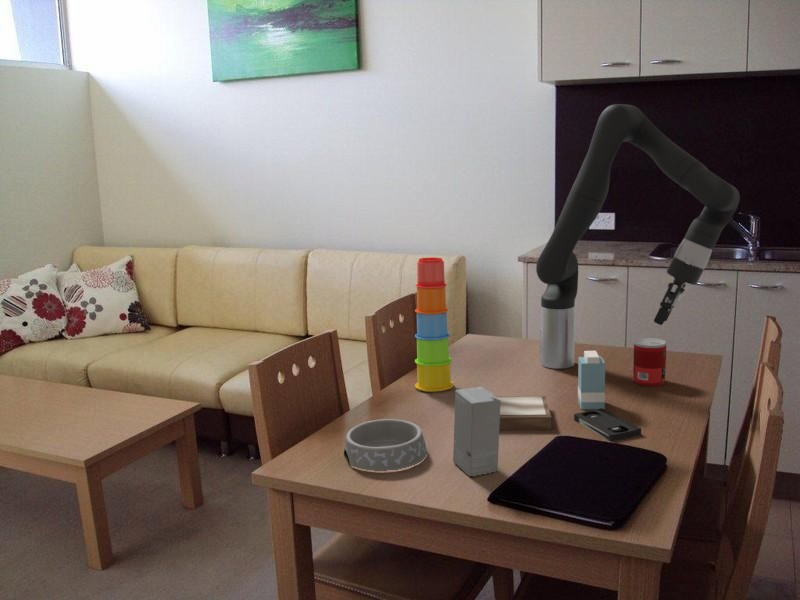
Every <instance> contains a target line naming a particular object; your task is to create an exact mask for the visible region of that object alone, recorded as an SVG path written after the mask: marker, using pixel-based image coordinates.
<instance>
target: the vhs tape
mask: <svg viewBox="0 0 800 600" xmlns="http://www.w3.org/2000/svg"><path fill="white" fill-rule="evenodd" d="M573 421H575V422H576V423H578V424H580V425H581V426H583V427H585V428H586V429H588V430H590V431H592V432H594V433H595V434H597V435H598V436H601V437H602V438H603V439H606V440H607V441H609V442H615V441H621V440H625V439H629V438H634V437H638V436H641V435H642V428H641V427H639V426H637V425H635V424H633V423H631V422H629V421H627V420H625V419H624V418H621V417H620V416H618V415H616V414H614V413H612V412H610V411H608V410H607V409H602V408H601V409H591V410H588V411H582V412H577V413H574V414H573ZM622 427H623V428H622Z"/></svg>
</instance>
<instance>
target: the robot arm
mask: <svg viewBox="0 0 800 600" xmlns="http://www.w3.org/2000/svg"><path fill="white" fill-rule="evenodd" d="M625 142H627V143H629V144H631V145H634V146H635V147H636V148H639V149H640V150H642V151H643V152H644V153H645V154H647V155H648V156H649V157H650V158H651V159H652V160H653V161H654V163H655V164H656V165H657V166H658V168H659V169H660V170H661V171H662V172H663V174H665V175H666V176H667V177H668V178H669V179H671V180H672V181H673V182H674V183H676V184H678V185H679V186H680V187H681V188H683V189H684V190H686V191H688V192H689V193H690V194H691V195H692V197H693V196H694V197H695V199H697V200H698V201H699V202H700V203H701V204H702V205H704V207H703V209H702V210H701V212H700V214H699V215H698V216H697V217H696V218H694V219H693V220H692V222H691V224H690V225H689V227H688V229H687V231H686V233H685V236H684V237H683V239H682V241H681V242H680V243H679V245H678V247H677V249H676V251H675V254H674V256H673V257H672V260H671V262H670V263H669V266H668V267H667V269H666V274H667V275H669V276H670V277H673V279H674V280H673V281H672V282H669V283H668V284H667V285H666V288H665V292H664V294H663V295H662V298H661V299H662V301H661V302H660V303H659V309H658V311H657V313H656V315H655V316H654V318H653V322H654V323H655V324H657V325H659V326H662V325H664V322H667V321H668V318H669V316H670V314H671V313H672V311H673V309H674V308H675V307H676V305H677V304H678V303H679V302H680V300H681V298H682V297H683V295H684V294H685V292H686V289H685V288H686V284H688V285H692V286H696V285H697V284H698V282H699V280H700V279H701V276H702V274H703V272H704V271H705V268H706V266H707V264H708V262H709V260H710V258H711V255H712V252H713V249H714V248H715V246H716V244H717V242H718V240H719V238H720V236H721V233H722V231H723V230H724V228H726V226H727V225H728V223H729V221H730V220H731V218H733V215H735V212H736V210H737V209H738V207H739V205H740V204H739V203H740V200H741V197H740V192H739V190H738V188H736V187H735V186H734V185H732V184H730V183H729V182H727V181H726V180H724V179H722V177H720V176H719V175H717V174H716V173H714V172H712V171H711V170H709V169H708V167H707V166H706V165H705V164H703V162H701V161H699V159H697V158H695V157H694V156H693V155H691V154H690V153H688V152H687V151H686V150H684V149H683V148H682V147H680V146H679V145H677V144H676V143H675V142H674V141H672V140H671V139H670V138H669V137H668V136H667V135H666V134H664V133H663V132H662V131H661V130H659V128H658V127H657V126H656V125H655V124H654V123H653V122H652V121H651V120H650V119H649V118H648V117H647V115H645V114H644V113H643V112H642V111H641V110H640V108H639V107H637V106H635V105H631V104H625V103H623V104H621V103H619V104H618V103H613V104H611V105H608V106H606V108H605V109H604V110H603V111H602V112H601V114H600V115H599V117H598V120H597V123H596V126H595V129H594V132H593V135H592V138H591V141H590V144H589V148H588V151H587V153H586V155H585V157H584V160H583V162H582V164H581V167H580V169H579V171H578V174H577V176H576V178H575V180H574V182H573V184H572V187H571V189H570V191H569V192H568V193H569V194H568V196H567V198H566V199H565V203H564V205H563V209H562V210H561V213H560V215H559V217H558V220H557V222H556V225H555V227H554V230H553V232H552V233H551V235H550V237H549V239H548V241H547V242H546V244H545V246H544V248H543V249H542V252H541V254H540V255H539V257H538V259H537V261H536V266H535V268H536V269H535V271H536V275H537V278H538V279H539V280H540V281H541V282H542V283H543V284H545V285H546V289H545V290H544V292H543V294H542V295H541V298H540V307H541V309H540V311H541V313H540V315H541V316H540V318H541V320H540V322H541V323H540V325H541V327H540V328H541V330H540V334H539V337H540V341H539V343H540V351H539V352H540V353H539V354H540V356H539V357H540V363H541V365H542V367H546V368H548V369H553V370H554V369H557V370H558V369H561V370H562V369H568V368H571V367H574V366H575V303H576V302H575V301H576V298H577V295H578V287H579V284H578V283H579V264H578V263H579V262H578V259H577V256H576V254H575V253H574V252H573V251H574V249H575V248H576V245H577V244H578V242H579V241H580V240H581V238H582V236H584V234H585V233H587V231H588V229H590V227H591V226H592V224H593V223H594V221H596V219H597V217H598V215H599V213H600V212H601V210H602V207H603V206H604V203H605V201H606V199H607V196H608V193H609V189H610V179H611V169H612V168H611V167H612V165H613V161H614V158H615V156H616V154H617V153H618V150H619V149H620V147H621V145H622V143H625Z"/></svg>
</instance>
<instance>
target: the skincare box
mask: <svg viewBox="0 0 800 600" xmlns="http://www.w3.org/2000/svg"><path fill="white" fill-rule="evenodd" d="M495 396H496V395H494V393H493V392H492V391H488V390H487V389H486V388H485V387H483V386H478V387H469V388H467V387H466V388H459V389H456V390H455V393H454V399H455V400H454V423H453V426H454V428H453V430H454V431H453V432H454V433H453V452H452V454H453V455H452V456H453V457H452V462H453V463H454V462H455V463H456V464H455V463H454V464H455V465H456V466H458V468H459V469H461V470H462V472H464V473H465V474H466V475H467V474H468V475H467V476H468V477H470V476H473V477H476V476H475V475H479V476H481V475H480V474H484V473H489V474H491V473H490V472H494V473H496V472H495V471H497V472H498V469H499V467H498V466H499V445H500V443H499V441H500V440H499V439H500V430H499V424H500V403H501V400H500V399H498V398H497V397H495ZM484 475H485V474H484Z"/></svg>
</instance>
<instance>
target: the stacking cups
mask: <svg viewBox="0 0 800 600" xmlns="http://www.w3.org/2000/svg"><path fill="white" fill-rule="evenodd" d="M416 272H417V274H416V275H417V276H416V277H417V280H416V281H417V283H416V284H415V287H416V309H414V312H415V313H416V332H417V333H415V335H414V338H415V339H416V357H417V358H416V359H414V363H415V364H416V371H417V372H416V373H417V375H416V376H417V377H416V379H417V382H416V383H415V385H414V387H415V388H416V389H417V390H419V391H422V392H432V393H435V392H443V391H444V392H445V391H448V390H450V389H452V388H453V387H454V382H453V381H452V380H451V378H452V376H451V363H452V362H453V360H452V357H450V349H449V346H450V345H449V337H450V335H451V334H450V333H449V330H448V315H447V314H448V312H449V308H448V307H447V301H446V299H447V298H446V287H447V285H448V284H447V283H445V282H446V281H445V280H446V279H445V261H444V260H443V258H442V257H422V258H418V261H417V271H416Z"/></svg>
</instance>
